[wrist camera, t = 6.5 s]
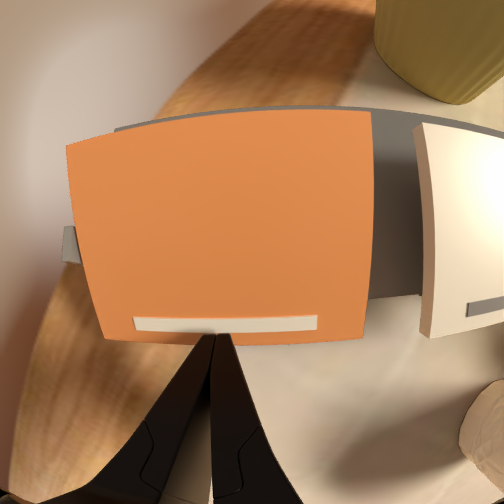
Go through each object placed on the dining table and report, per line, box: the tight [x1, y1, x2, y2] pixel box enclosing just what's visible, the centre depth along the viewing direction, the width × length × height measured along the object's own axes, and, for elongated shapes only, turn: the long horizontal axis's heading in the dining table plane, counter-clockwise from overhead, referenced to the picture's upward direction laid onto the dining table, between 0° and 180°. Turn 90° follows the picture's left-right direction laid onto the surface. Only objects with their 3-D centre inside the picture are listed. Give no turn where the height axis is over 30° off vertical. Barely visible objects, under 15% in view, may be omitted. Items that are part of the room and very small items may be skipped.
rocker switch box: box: [62, 106, 504, 299], centre depth 12 cm, size 8×27×9 cm, turn 92°
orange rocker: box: [66, 109, 374, 345], centre depth 8 cm, size 7×9×1 cm
